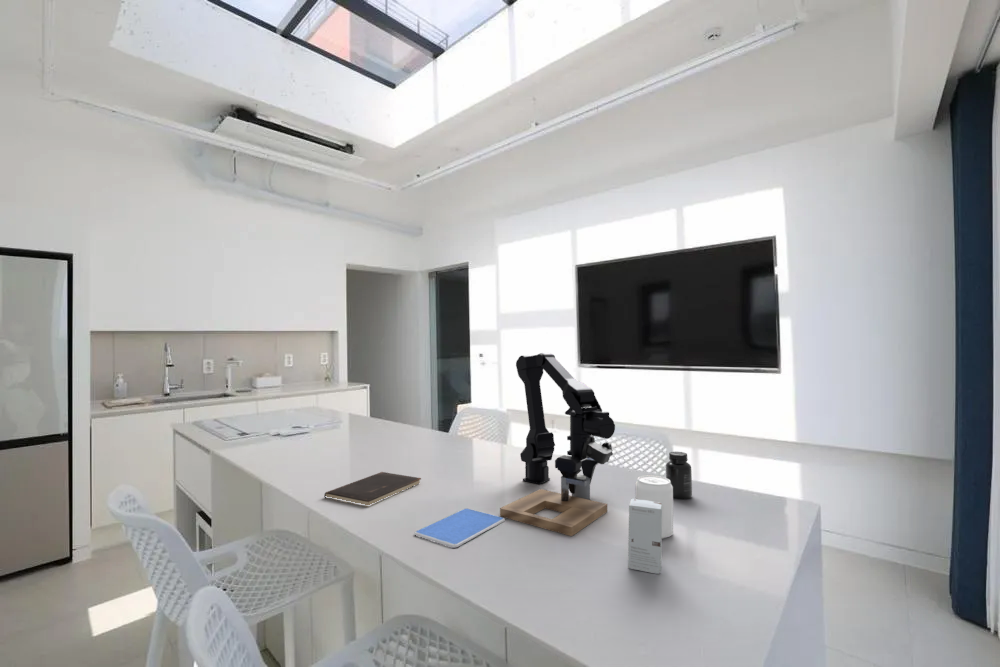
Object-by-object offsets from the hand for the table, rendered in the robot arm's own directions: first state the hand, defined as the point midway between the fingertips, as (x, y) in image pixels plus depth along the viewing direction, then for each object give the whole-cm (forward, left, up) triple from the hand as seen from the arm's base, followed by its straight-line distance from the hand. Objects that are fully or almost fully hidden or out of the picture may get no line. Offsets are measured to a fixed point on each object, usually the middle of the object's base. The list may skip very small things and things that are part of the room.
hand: (580, 489), depth 128 cm
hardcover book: (-51, -30, -3) cm, 59 cm away
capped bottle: (0, 0, -3) cm, 3 cm away
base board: (0, -14, -3) cm, 15 cm away
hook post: (+3, -9, -1) cm, 9 cm away
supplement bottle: (+21, +19, -3) cm, 29 cm away
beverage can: (+24, -11, -3) cm, 27 cm away
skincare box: (+28, -28, -3) cm, 40 cm away
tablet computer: (-13, -35, -3) cm, 37 cm away
